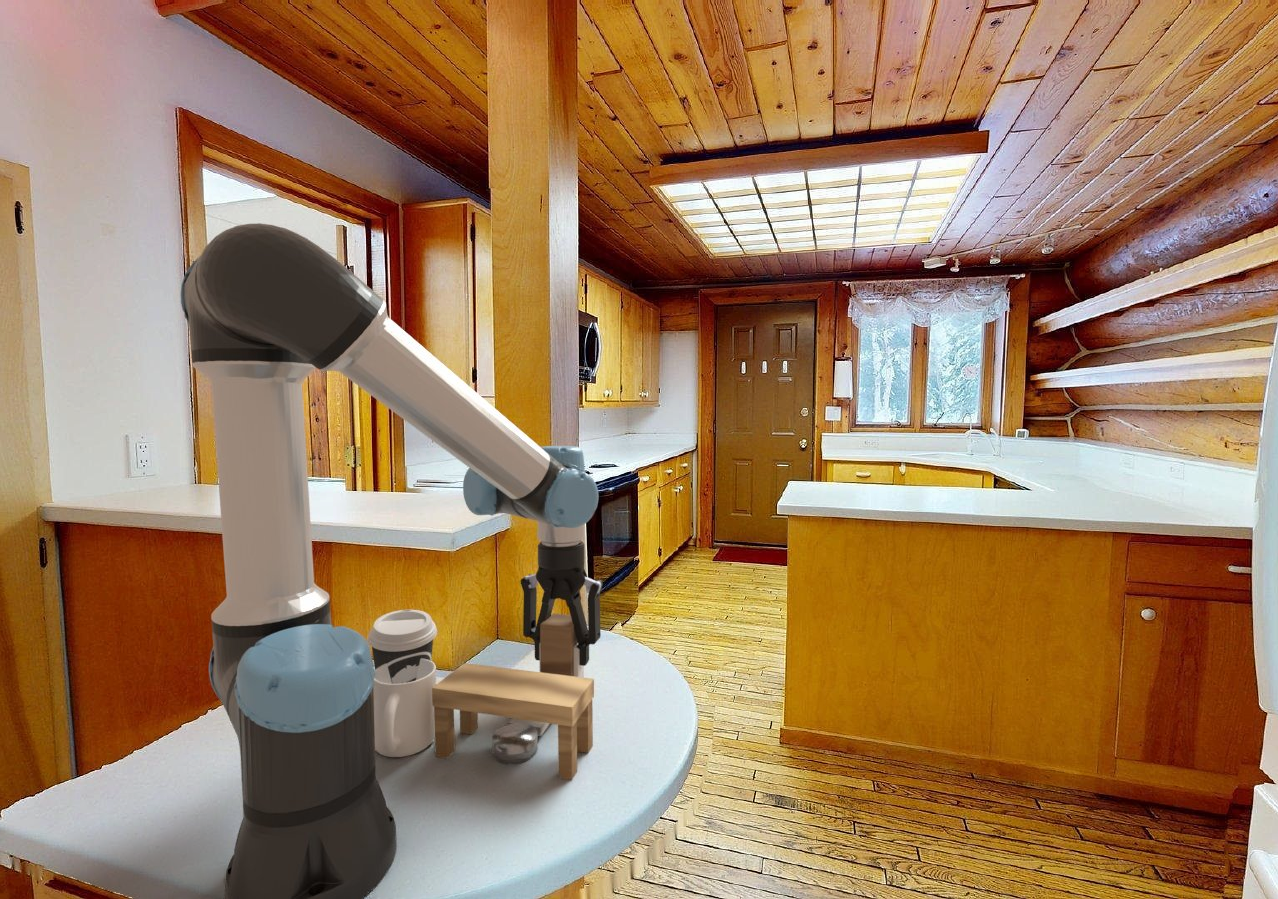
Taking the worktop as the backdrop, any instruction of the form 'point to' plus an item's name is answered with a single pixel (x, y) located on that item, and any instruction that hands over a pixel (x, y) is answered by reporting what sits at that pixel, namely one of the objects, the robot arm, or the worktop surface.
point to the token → (515, 743)
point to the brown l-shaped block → (554, 654)
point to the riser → (516, 706)
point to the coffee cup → (402, 643)
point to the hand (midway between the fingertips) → (561, 681)
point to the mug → (404, 711)
